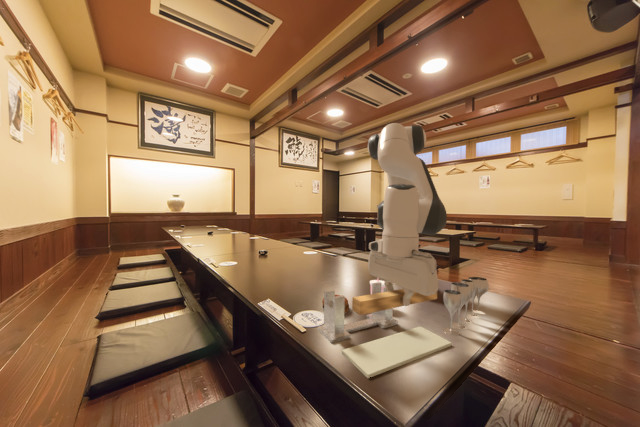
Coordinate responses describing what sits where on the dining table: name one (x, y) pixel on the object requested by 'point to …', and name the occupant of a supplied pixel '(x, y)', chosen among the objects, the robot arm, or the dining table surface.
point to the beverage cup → (377, 282)
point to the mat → (394, 350)
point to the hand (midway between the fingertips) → (398, 301)
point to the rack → (339, 331)
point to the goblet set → (463, 298)
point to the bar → (385, 301)
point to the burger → (344, 305)
